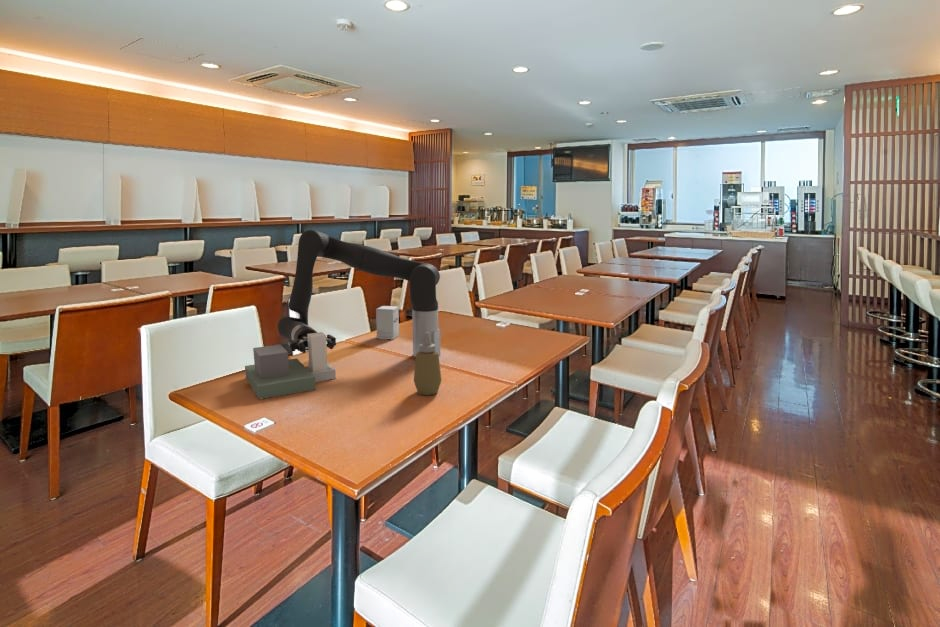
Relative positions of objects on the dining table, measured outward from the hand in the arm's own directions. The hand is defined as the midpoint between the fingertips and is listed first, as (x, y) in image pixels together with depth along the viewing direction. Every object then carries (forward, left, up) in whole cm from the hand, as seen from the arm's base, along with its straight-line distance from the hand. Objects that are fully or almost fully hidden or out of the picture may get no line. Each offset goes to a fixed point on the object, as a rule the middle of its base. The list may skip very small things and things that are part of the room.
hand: (318, 347), depth 165 cm
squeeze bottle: (-37, +1, -10) cm, 39 cm away
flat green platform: (+6, +5, -10) cm, 13 cm away
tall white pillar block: (+1, -1, -10) cm, 10 cm away
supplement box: (+3, -54, -10) cm, 55 cm away
